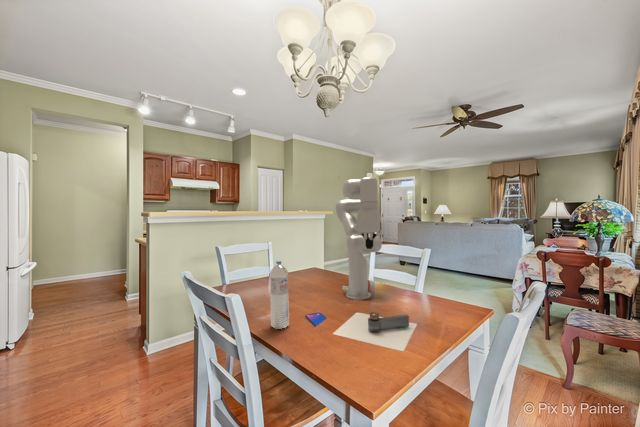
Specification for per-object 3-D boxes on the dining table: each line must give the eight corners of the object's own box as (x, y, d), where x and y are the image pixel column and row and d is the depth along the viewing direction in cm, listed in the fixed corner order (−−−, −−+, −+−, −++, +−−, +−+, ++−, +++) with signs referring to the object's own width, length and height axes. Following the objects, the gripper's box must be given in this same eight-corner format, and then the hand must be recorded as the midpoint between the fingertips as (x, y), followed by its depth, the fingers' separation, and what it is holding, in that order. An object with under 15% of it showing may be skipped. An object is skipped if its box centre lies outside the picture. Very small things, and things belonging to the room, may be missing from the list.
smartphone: (318, 330, 99) (304, 315, 112) (318, 332, 99) (304, 317, 112) (336, 326, 102) (320, 312, 115) (336, 328, 102) (320, 314, 115)
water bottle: (274, 331, 98) (272, 263, 98) (268, 324, 104) (267, 260, 104) (291, 327, 102) (290, 261, 101) (285, 321, 108) (284, 258, 107)
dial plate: (332, 338, 93) (332, 333, 93) (356, 315, 112) (356, 311, 112) (403, 356, 81) (403, 350, 81) (417, 327, 100) (417, 323, 100)
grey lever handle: (371, 333, 92) (371, 317, 92) (366, 327, 96) (365, 312, 96) (411, 328, 95) (410, 312, 95) (404, 322, 100) (404, 307, 100)
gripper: (349, 206, 117) (350, 248, 117) (383, 206, 109) (383, 251, 110) (356, 206, 123) (356, 246, 124) (388, 206, 116) (389, 248, 116)
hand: (369, 248), depth 117 cm, fingers closed
